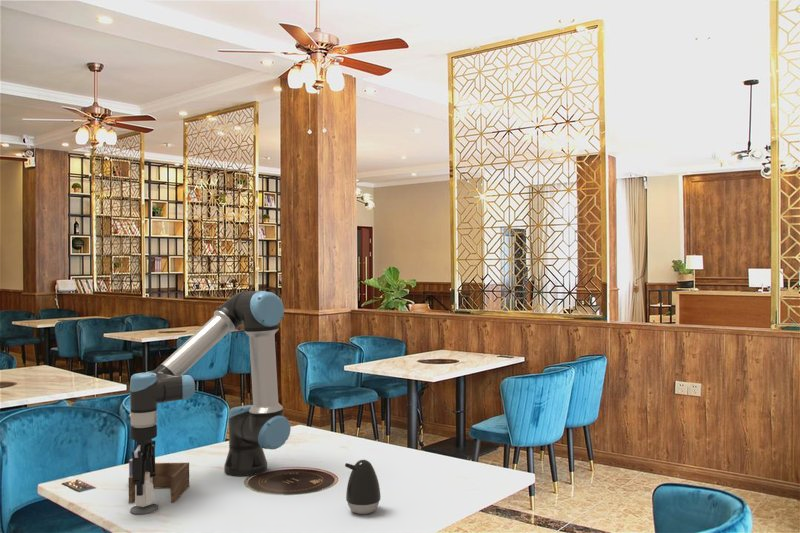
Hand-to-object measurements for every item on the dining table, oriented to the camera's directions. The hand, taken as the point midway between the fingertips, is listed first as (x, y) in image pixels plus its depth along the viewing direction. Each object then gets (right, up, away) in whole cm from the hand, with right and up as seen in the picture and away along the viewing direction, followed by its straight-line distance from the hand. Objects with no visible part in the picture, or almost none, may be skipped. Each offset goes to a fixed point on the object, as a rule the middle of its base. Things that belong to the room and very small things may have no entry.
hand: (144, 502), depth 205 cm
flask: (-12, -3, +27) cm, 30 cm away
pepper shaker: (0, -1, 0) cm, 1 cm away
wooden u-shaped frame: (0, -2, +14) cm, 14 cm away
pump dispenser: (+66, -2, -3) cm, 66 cm away
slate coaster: (0, -2, 0) cm, 2 cm away
